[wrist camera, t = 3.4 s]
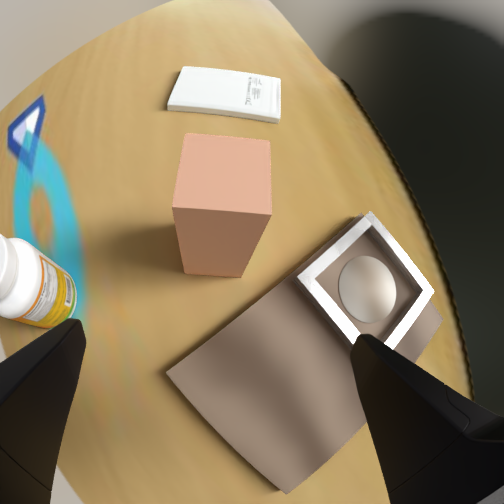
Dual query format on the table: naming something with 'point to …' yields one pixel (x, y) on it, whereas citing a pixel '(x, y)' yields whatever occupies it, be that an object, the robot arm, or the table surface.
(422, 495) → the robot arm
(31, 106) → the table surface
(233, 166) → the terracotta pin
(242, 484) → the table surface
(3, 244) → the supplement bottle
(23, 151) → the table surface
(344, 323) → the board
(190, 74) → the external hard drive
